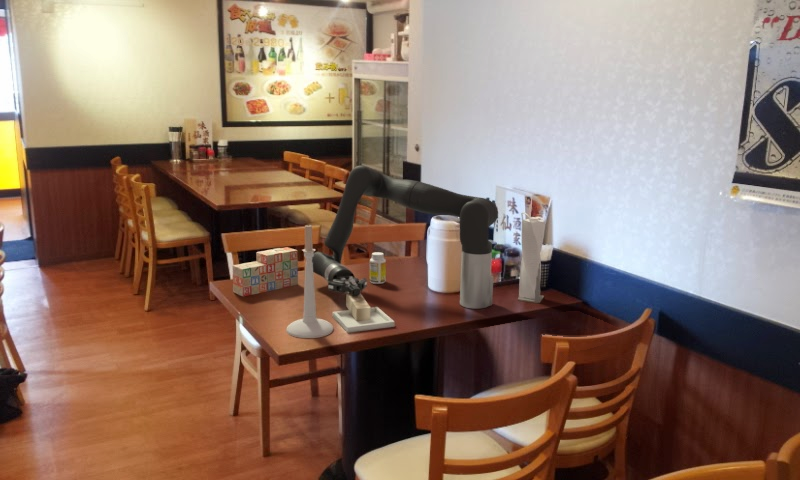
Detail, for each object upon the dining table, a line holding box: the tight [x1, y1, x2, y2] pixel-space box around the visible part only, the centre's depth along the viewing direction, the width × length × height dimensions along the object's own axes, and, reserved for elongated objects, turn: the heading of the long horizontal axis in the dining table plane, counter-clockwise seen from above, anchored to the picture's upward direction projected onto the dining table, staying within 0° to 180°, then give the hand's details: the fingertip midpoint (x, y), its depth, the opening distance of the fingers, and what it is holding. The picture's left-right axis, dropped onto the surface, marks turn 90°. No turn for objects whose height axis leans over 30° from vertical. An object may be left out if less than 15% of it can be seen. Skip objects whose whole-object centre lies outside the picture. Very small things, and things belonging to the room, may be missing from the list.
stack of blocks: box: [232, 246, 299, 297], centre depth 224 cm, size 21×6×12 cm, turn 133°
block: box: [345, 292, 371, 321], centre depth 198 cm, size 4×4×10 cm
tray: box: [332, 306, 396, 333], centre depth 195 cm, size 14×14×2 cm
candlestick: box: [286, 224, 334, 339], centre depth 185 cm, size 13×13×30 cm
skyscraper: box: [517, 211, 546, 304], centre depth 216 cm, size 8×8×28 cm
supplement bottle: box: [369, 251, 387, 285], centre depth 233 cm, size 6×6×10 cm
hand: (356, 292), depth 198 cm, fingers closed
